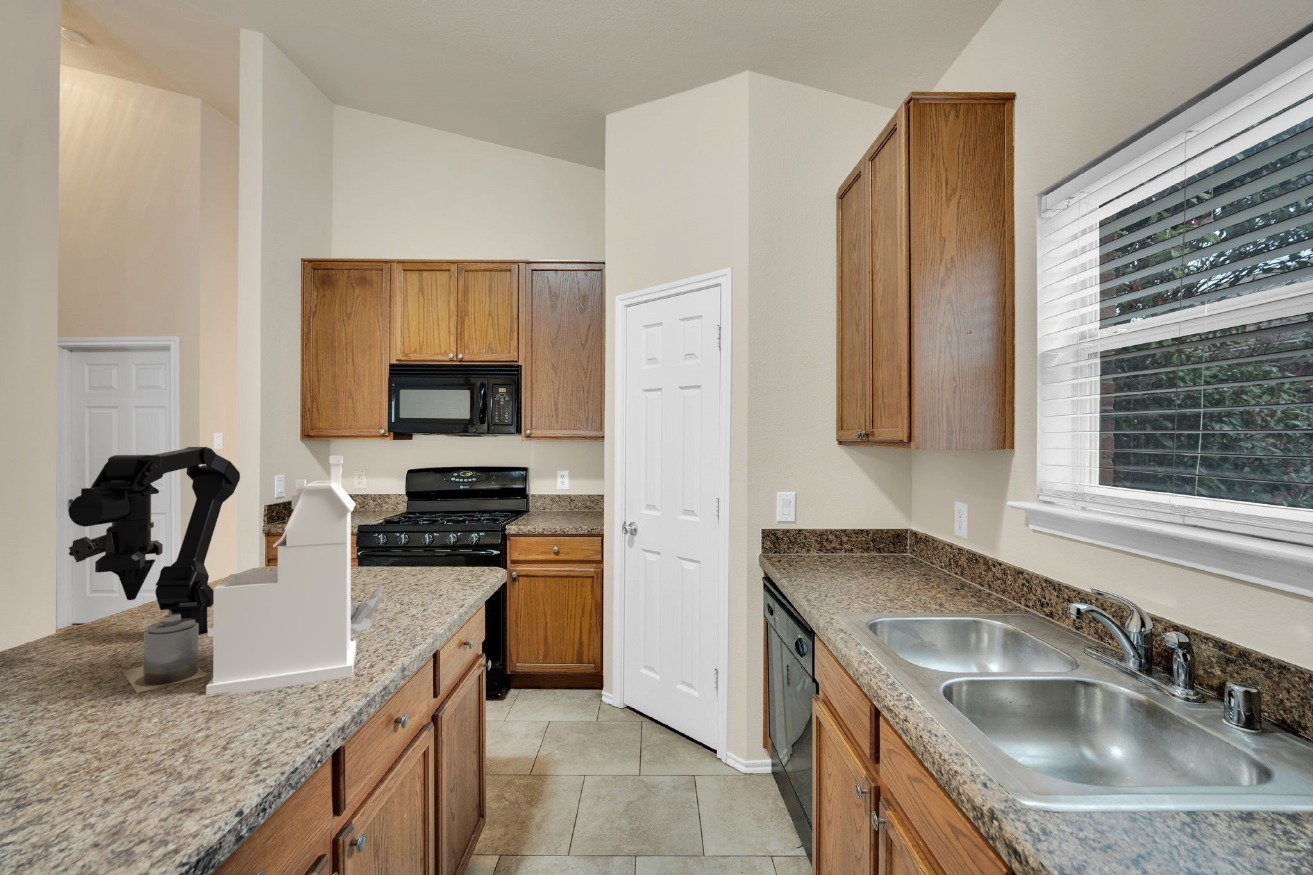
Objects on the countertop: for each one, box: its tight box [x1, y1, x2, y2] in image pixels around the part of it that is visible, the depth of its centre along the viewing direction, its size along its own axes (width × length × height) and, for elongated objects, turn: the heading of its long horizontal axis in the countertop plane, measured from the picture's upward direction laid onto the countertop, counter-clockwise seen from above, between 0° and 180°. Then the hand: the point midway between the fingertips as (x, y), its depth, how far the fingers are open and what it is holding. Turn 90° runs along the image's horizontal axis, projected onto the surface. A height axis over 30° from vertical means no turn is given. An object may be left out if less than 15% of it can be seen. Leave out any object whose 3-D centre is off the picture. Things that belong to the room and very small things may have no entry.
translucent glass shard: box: [351, 584, 383, 633], centre depth 136 cm, size 10×13×15 cm
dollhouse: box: [205, 455, 357, 699], centre depth 109 cm, size 22×15×40 cm
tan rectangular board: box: [121, 665, 208, 693], centre depth 107 cm, size 10×14×1 cm, turn 50°
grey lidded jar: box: [142, 613, 200, 685], centre depth 106 cm, size 8×8×11 cm
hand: (131, 599), depth 114 cm, fingers closed
